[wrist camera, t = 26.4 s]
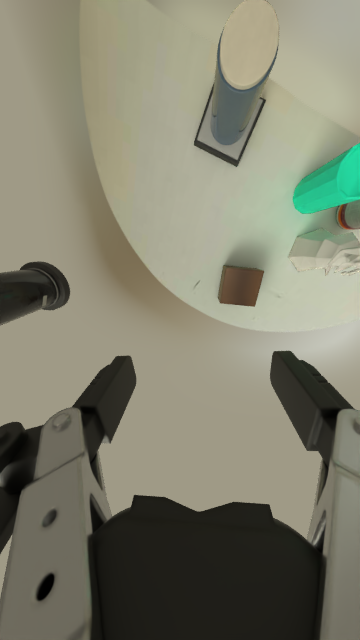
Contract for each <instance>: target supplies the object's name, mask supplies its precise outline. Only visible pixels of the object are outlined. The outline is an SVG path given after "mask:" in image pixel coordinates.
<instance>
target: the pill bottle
mask: <svg viewBox="0 0 360 640" xmlns="http://www.w3.org/2000/svg"><path fill="white" fill-rule="evenodd" d="M336 219H337V222H338V224H339V226H340V227H342V228H343V229H347V230H355V229H360V200H356V201H353V202H349V203H346V204H342V205H340V206H339V208H338V210H337V215H336Z"/></svg>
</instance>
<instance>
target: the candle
mask: <svg viewBox="0 0 360 640" xmlns="http://www.w3.org/2000/svg"><path fill="white" fill-rule="evenodd" d="M356 200H360V143H359V144H357V145H355V146H353V147H352V148H350V149H349V150H347V151H346V152H344V153H342V154H341V155H339V156H338V157H336V158H335V159H333V160H331V161H330V162H328V163H327V164H325V165H324V166H322V167H320V168H319V169H317V170H316V171H314V172H313V173H311V174H309V175H308V176H306V177H305V178H303V179H302V180H301V181H300V183H299V184H298V186H297V187H296V188H295V192H294V196H293V202H294V206H295V209H297V210H298V211H299V212H301V213H314V212H318V211H321V210H325V209H328V208H332V207H335V206H339V205H342V204H346V203H349V202H353V201H356Z"/></svg>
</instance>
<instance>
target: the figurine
mask: <svg viewBox="0 0 360 640" xmlns="http://www.w3.org/2000/svg"><path fill="white" fill-rule="evenodd" d="M288 257H289V259H290V260H291V262H292V263H293V264H294V266H295V267H296V269H297V270H298V272H300V271H305V270H310V269H315V268H317V269H318V268H325V276H326V275H327V274H328V272H329V270H330V268H334V267H338V268H337V269H336V271H335V272H334V273H336V272H339V271H341V270H344V269H346V268H349V267H351V266H354V267H357V269H355V270H352V271H350V272H346V271H345V272H342V273H341V274H342V275H345V274H348V275H352V274H355V273H358V272H360V243H359V241H358V239H357V238H356V237H355V235H354V234H353V232H351V233H347V234H343V235H339V236H336V235H333V234H332V233H330V232H328V231H326V230H325V229H323V228H321V229H318V230H315V231H313V232H310V233H307V234H304V235H301V236H298V237H297V238H296V240H295V243H294V245H293V247H292V249H291V251H290V254H289V256H288Z"/></svg>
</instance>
